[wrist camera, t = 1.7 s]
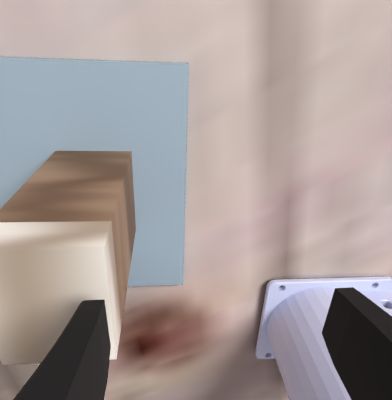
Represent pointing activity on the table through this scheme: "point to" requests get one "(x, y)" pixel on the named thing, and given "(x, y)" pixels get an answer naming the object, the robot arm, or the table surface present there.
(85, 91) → the light blue mat
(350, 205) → the table surface
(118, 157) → the walnut block
